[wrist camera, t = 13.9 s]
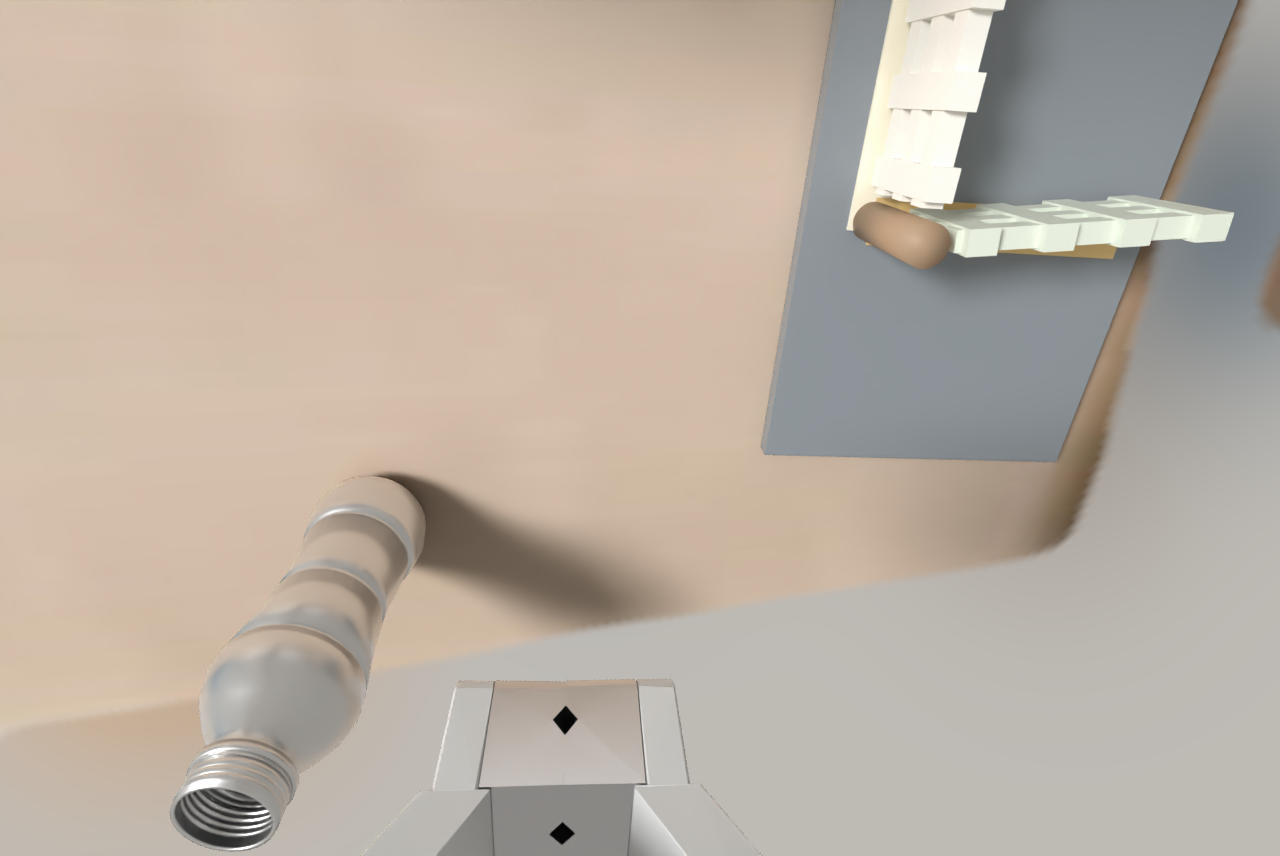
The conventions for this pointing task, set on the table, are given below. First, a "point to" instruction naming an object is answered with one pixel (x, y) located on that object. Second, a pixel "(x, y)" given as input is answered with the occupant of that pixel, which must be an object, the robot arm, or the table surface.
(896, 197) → the fence fixed
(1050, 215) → the fence hinged
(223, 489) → the table surface
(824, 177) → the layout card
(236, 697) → the plastic bottle
